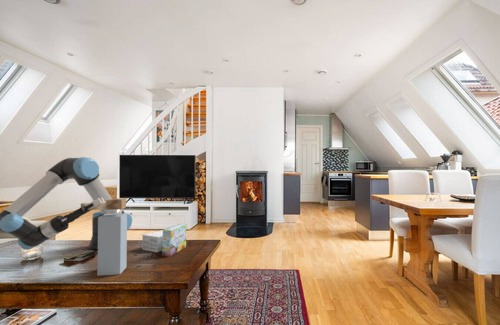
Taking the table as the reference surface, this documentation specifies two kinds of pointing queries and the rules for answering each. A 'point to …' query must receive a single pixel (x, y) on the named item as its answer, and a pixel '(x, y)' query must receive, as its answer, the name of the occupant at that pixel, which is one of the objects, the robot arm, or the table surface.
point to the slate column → (112, 244)
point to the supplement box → (153, 241)
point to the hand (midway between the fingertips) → (101, 200)
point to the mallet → (109, 204)
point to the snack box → (173, 239)
